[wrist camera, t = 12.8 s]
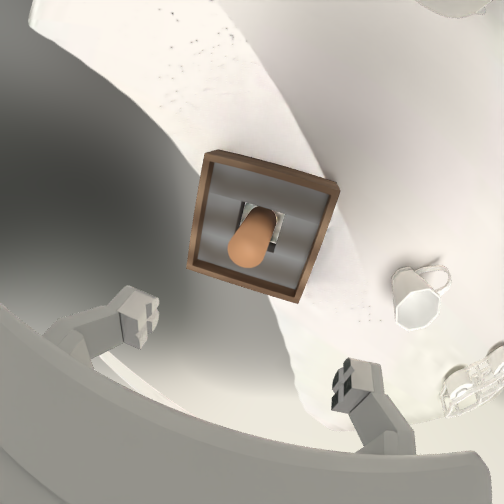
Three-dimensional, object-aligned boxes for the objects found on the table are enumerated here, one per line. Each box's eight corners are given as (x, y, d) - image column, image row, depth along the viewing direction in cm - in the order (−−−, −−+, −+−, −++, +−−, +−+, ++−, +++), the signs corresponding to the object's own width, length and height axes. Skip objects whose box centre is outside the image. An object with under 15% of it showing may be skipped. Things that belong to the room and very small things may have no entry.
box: (218, 149, 35) (204, 153, 31) (336, 182, 34) (340, 191, 30) (199, 252, 43) (186, 268, 38) (300, 284, 41) (298, 303, 37)
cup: (375, 273, 38) (386, 305, 31) (431, 239, 34) (453, 266, 27) (392, 305, 40) (403, 339, 33) (445, 275, 36) (464, 304, 29)
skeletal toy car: (510, 333, 37) (524, 355, 30) (507, 361, 40) (518, 382, 33) (435, 374, 44) (443, 401, 38) (439, 398, 47) (445, 422, 41)
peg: (251, 202, 38) (231, 228, 29) (279, 210, 37) (269, 239, 28) (244, 228, 39) (224, 261, 31) (272, 237, 39) (259, 272, 30)
